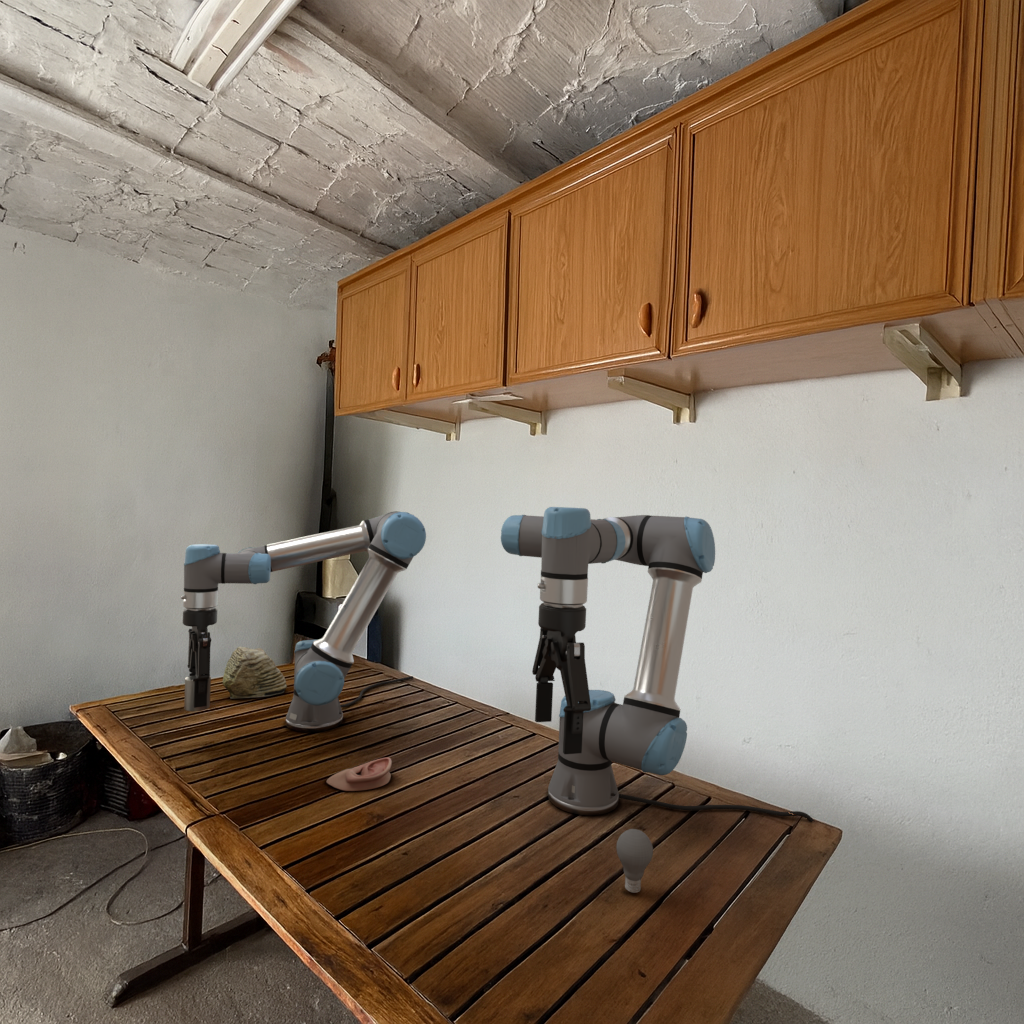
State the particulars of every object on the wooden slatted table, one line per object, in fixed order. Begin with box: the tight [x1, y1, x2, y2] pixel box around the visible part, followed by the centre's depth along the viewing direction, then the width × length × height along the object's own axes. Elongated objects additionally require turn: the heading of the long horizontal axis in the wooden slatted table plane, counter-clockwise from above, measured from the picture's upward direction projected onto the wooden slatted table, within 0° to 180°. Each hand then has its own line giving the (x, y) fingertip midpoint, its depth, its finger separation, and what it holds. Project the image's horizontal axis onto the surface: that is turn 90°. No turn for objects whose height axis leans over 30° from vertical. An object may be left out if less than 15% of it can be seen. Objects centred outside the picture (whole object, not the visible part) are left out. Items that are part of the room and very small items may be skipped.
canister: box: [183, 675, 212, 712], centre depth 154 cm, size 6×6×7 cm
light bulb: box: [615, 828, 654, 894], centre depth 106 cm, size 6×6×10 cm
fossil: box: [222, 646, 288, 699], centre depth 198 cm, size 9×18×15 cm, turn 132°
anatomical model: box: [326, 756, 393, 792], centre depth 142 cm, size 13×4×12 cm
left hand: (197, 702), depth 154 cm, fingers closed on canister, 6 cm apart
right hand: (556, 736), depth 101 cm, fingers open, 13 cm apart
